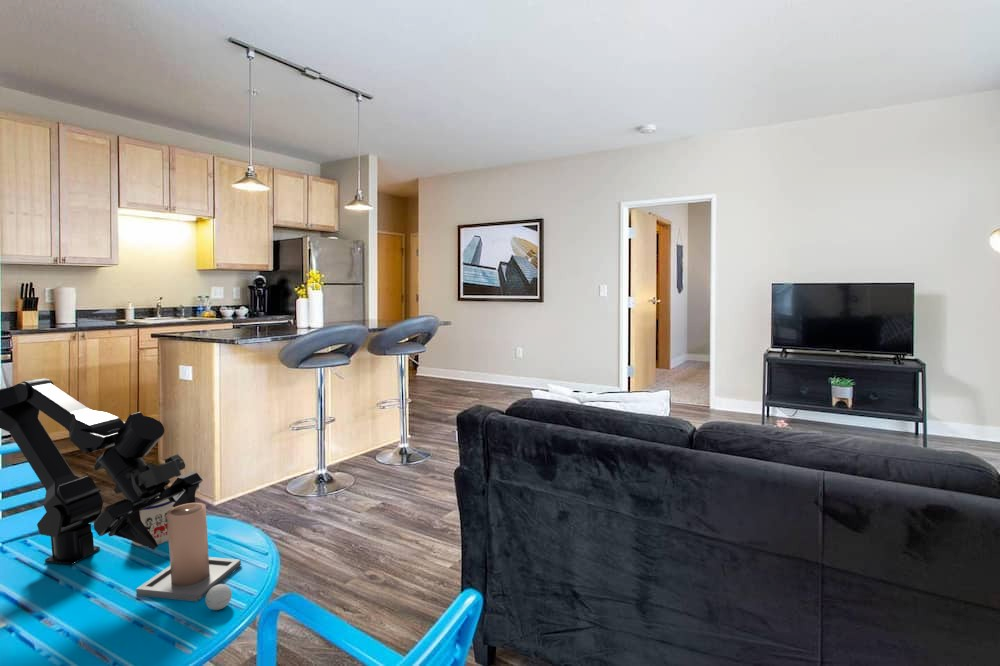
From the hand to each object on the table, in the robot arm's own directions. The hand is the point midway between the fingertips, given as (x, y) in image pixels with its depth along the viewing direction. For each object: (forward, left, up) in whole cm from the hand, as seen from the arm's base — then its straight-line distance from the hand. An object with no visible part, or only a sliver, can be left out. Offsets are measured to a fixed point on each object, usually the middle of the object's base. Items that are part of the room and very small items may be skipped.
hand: (178, 536), depth 100 cm
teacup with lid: (-16, +15, -8) cm, 24 cm away
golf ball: (+14, -7, -8) cm, 17 cm away
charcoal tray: (+3, 0, -8) cm, 8 cm away
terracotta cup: (+2, 0, -7) cm, 8 cm away
